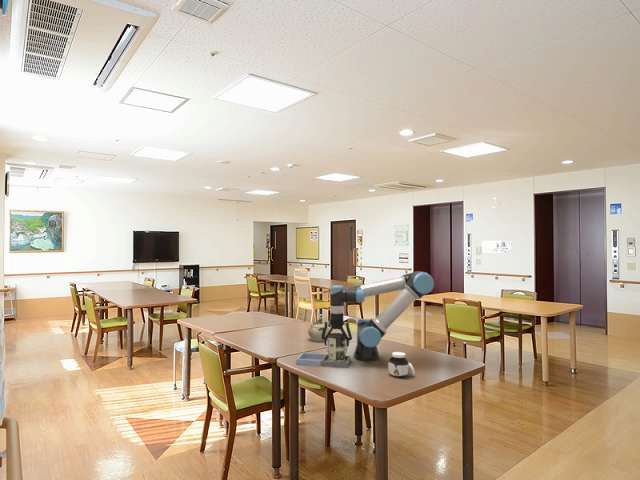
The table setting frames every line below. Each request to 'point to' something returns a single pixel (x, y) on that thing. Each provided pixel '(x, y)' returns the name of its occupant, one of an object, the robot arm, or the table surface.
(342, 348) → the coffee can
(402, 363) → the spread jar
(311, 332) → the sugar bowl
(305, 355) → the bay tray
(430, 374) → the table surface
